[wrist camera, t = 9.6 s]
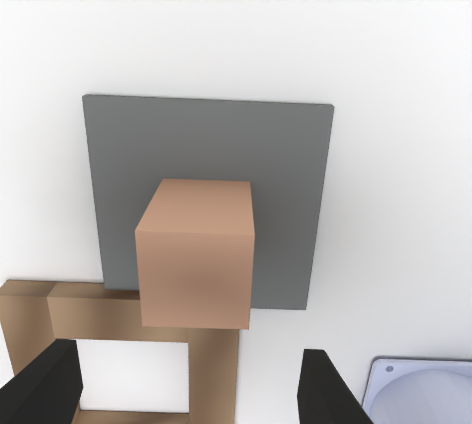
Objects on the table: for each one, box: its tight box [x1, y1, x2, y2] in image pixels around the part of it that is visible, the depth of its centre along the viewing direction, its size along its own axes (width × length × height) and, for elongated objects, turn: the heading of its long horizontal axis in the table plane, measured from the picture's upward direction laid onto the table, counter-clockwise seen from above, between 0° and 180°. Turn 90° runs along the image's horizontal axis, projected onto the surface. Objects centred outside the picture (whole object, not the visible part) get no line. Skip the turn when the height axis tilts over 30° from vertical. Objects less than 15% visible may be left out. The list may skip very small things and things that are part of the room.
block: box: [135, 178, 255, 329], centre depth 18 cm, size 4×4×6 cm
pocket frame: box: [0, 280, 239, 424], centre depth 26 cm, size 14×14×2 cm
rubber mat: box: [82, 95, 334, 310], centre depth 21 cm, size 12×12×1 cm
